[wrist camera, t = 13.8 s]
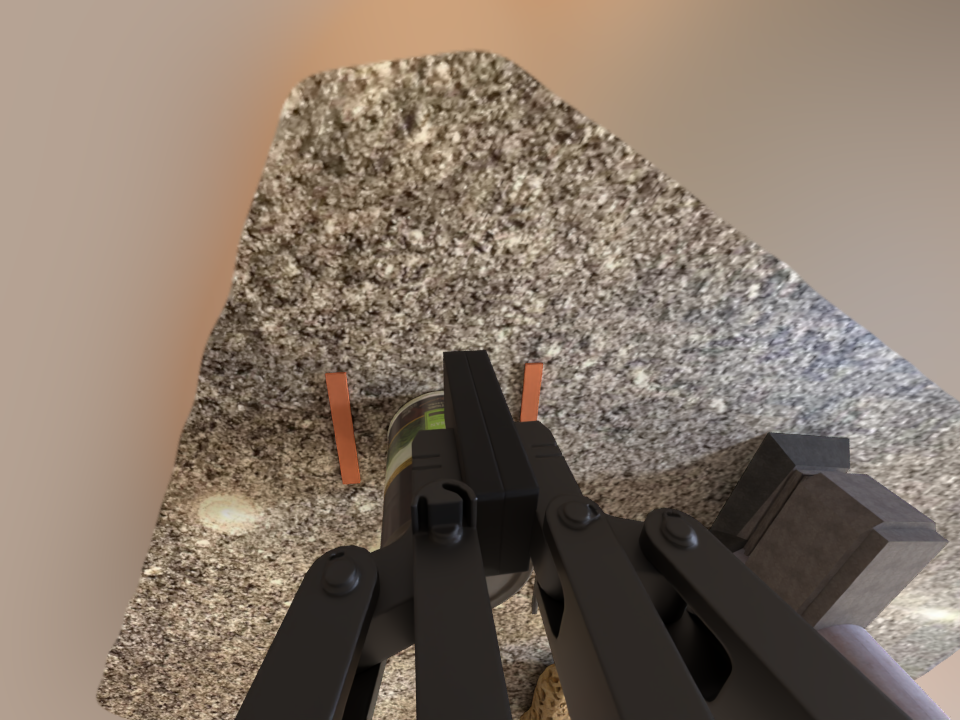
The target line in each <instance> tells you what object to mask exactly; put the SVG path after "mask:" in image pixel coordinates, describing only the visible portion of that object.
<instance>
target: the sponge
mask: <svg viewBox="0 0 960 720" xmlns="http://www.w3.org/2000/svg"><path fill="white" fill-rule="evenodd" d="M519 720H571V718H570V715H569V711H568V708H567V704H566V701H565V697H564V694H563V690H562V687H561V683H560V680H559V676H558V673H557V669H556V666H555V663H554V664H552V665H550V666H548V667H547V668H546V669H545V670H544V672H543V673H542V674H541V675H540V677H539V679H538V681H537V685H536V688H535V691H534V696H533V701H532V706H531V707H530V709H529V710H528V711H527V712H525V713H524V714H523V715H522V716H521V717H520V719H519Z"/></svg>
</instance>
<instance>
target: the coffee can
mask: <svg viewBox="0 0 960 720" xmlns="http://www.w3.org/2000/svg"><path fill="white" fill-rule="evenodd" d="M432 429H446V426H445V419H444V391H435V392H430V393H426V394H423V395H420V396H418V397H416V398H414V399H412V400H411V401H409V402H408V403H406V404H405V405H404V406H403V407H402V408H401V409H400V410H399V411H398V412H397V413H396V414H395V416H394V417H393V419H392V421H391V423H390V426H389V429H388V434H387V440H388V449H387V462H386V476H385V490H384V504H383V517H382V532H381V546H380V549H381V548H383V547H385V546H388V545H389V544H391V543H393V542H395V541H396V540H398V539H399V538H400V537H401V536H402V535H403V534H404V533H405V532H406V530H407V529H408V528H409V526H410V523H411V521H412V520H411V502H412V498H413V492H412V444H411V443H412V441H413V439H414V438H415V436H416V434H417V432H418V431H419V430H432ZM533 569H534V567H533V564H532V560H531V557H530V564H529V571H526V572H519V573H511V574H504V575H496V576H489V577H486V582H487V587H488V593H489V598H490V603H491V609H492V608H494V607H496V606H498V605H500V604H502V603H503V602H505V601H506V600H508V599H509V598H510V597H512V596H513V595H514V594H516V593H517V592H518V591H519V590H520V589H521V588H522V587H523V586H524V585H525V583H526V582H527V581H528V579H529V578H530V576H531V574H532V572H533Z"/></svg>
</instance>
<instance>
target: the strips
mask: <svg viewBox="0 0 960 720" xmlns="http://www.w3.org/2000/svg"><path fill="white" fill-rule="evenodd" d="M542 369H543V363H525V370H524V381H523V392H522V403H521V414H520V422H524V421H537V413H538V404H539V395H540V387H541V378H542ZM325 377H326V383H327V389H328V395H329V401H330V408H331V414H332V420H333V426H334V432H335V438H336V445H337V451H338V457H339V463H340V469H341V475H342V481H343V484H354V483H360V474H359V466H358V459H357V452H356V444H355V437H354V430H353V422H352V415H351V407H350V400H349V393H348V385H347V378H346V372H337V373H326V374H325Z"/></svg>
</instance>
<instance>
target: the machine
mask: <svg viewBox="0 0 960 720" xmlns="http://www.w3.org/2000/svg"><path fill="white" fill-rule="evenodd" d="M849 469H850V451H849V439H848V438H835V437H822V436H809V435H796V434H783V433H770V432H769V433H768V434H767V436H766V438H765V439H764V441H763V443H762V444H761V446H760V448H759V449H758V451H757V453H756V454H755V456H754V457H753V459H752V461H751V462H750V464H749V466H748V467H747V469H746V471H745V472H744V474H743V476H742V477H741V479H740V481H739V482H738V484H737V486H736V487H735V489H734V490H733V492H732V494H731V495H730V497H729V499H728V500H727V502H726V504H725V505H724V507H723V509H722V510H721V512H720V514H719V515H718V517H717V519H716V520H715V522H714V524H713V525H712V527H711V528H710V530H708V531H709V532H711V533H712V534H713V535H714V536H715V537H716V538H717V539H718V540H719V541H720V542H721V543H722V544H724V545H725V546H726V547H727V548H728V549H729V550H730V551H731V552H732V553H733V554H734V555H735V556H736V557H738V558H739V559H740V560H741V561H742V562H743V563H744V564H745V565H746V566H747V567H748V568H749V569H751V570H752V571H753V572H754V573H755V574H756V575H757V576H758V577H759V578H760V579H761V580H762V581H763V582H765V583H766V584H767V585H768V586H769V587H770V588H771V589H772V590H773V591H774V592H775V593H776V594H778V595H779V596H780V597H781V598H782V599H783V600H784V601H785V602H786V603H787V604H788V605H789V606H791V607H792V608H793V609H794V610H795V611H796V612H797V613H798V614H799V615H800V616H801V617H802V618H803V619H805V620H806V621H807V622H808V623H809V624H810V625H811V626H812V627H813V628H814V629H815V630H816V631H818V632H819V633H820V634H821V635H822V636H823V637H824V638H825V639H826V640H827V641H828V642H829V643H830V644H832V645H833V646H834V647H835V648H836V649H837V650H838V651H839V652H840V653H841V654H842V655H843V656H845V657H846V658H847V659H848V660H849V661H850V662H851V663H852V664H853V665H854V666H855V667H856V668H857V669H859V670H860V671H861V672H862V673H863V674H864V675H865V676H866V677H867V678H868V679H869V680H870V681H872V682H873V683H874V684H875V685H876V686H877V687H878V688H879V689H880V690H881V691H882V692H883V693H884V694H886V695H887V696H888V697H889V698H890V699H891V700H892V701H893V702H894V703H895V704H896V705H897V706H899V707H900V708H901V709H902V710H903V711H904V712H905V713H906V714H907V715H908V716H909V717H910V718H912V719H913V720H951V719H950V718H949V717H948V716H947V715H946V713H945V712H943V710H942V709H941V708H940V707H939V706H938V705H937V704H936V703H935V702H934V701H933V700H932V699H931V698H930V697H929V696H928V695H927V694H926V693H925V692H924V691H923V689H921V687H920V686H918V684H917V683H916V682H915V681H914V680H913V679H912V678H911V677H910V676H909V675H908V674H907V673H906V672H905V671H904V670H903V669H902V668H901V667H900V666H899V664H898V663H897V662H896V661H895V660H894V659H893V658H892V657H891V656H890V655H889V654H888V653H887V652H886V651H885V650H884V649H883V648H882V647H881V646H880V645H879V644H878V643H877V642H876V640H875V639H874V638H873V637H872V636H871V635H870V634H869V633H868V632H867V631H866V630H865V628H866V627H867V626H868V625H869V624H870V623H871V622H872V621H873V620H874V619H875V618H876V617H877V616H878V615H879V614H880V613H881V612H882V611H883V609H884V608H885V607H886V606H887V605H888V604H889V603H890V602H891V601H892V600H893V599H894V598H895V597H896V596H897V595H898V594H899V593H900V592H901V591H902V590H903V589H904V588H905V587H906V586H907V585H908V584H909V583H910V582H911V581H912V580H913V579H914V578H915V577H916V576H917V575H918V573H919V572H920V571H921V570H922V569H923V568H924V567H925V566H926V565H927V564H928V563H929V562H930V561H931V560H932V559H933V558H934V557H935V556H936V555H937V554H938V553H939V552H940V551H941V550H942V549H943V548H944V547H945V546H946V545H947V544H948V543H949V541H948V540H947V539H945V538H944V537H942V536H941V535H940V534H938V533H937V532H936V523H935V522H934V521H933V520H931V519H930V518H928V517H927V516H926V515H924V514H923V513H921V512H920V511H918V510H917V509H916V508H914V507H913V506H911V505H910V504H908V503H907V502H906V501H904V500H903V499H901V498H900V497H898V496H897V495H896V494H894V493H893V492H891V491H890V490H888V489H887V488H886V487H884V486H883V485H881V484H880V483H879V482H877V481H876V480H874V479H873V478H871V477H870V476H869V475H867V474H848V473H847V471H848V470H849Z"/></svg>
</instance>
